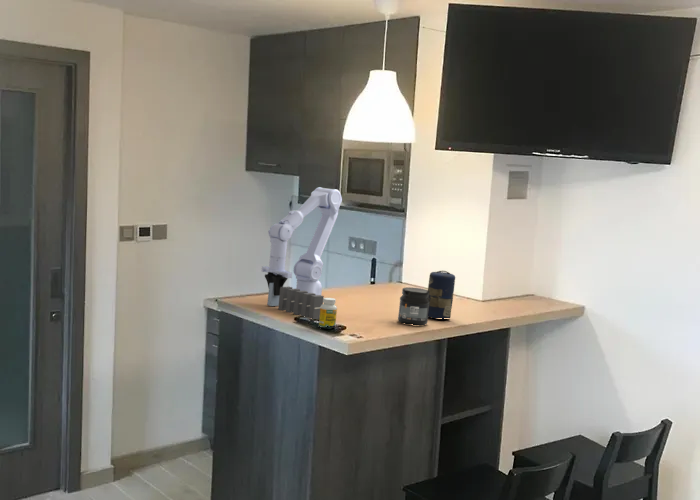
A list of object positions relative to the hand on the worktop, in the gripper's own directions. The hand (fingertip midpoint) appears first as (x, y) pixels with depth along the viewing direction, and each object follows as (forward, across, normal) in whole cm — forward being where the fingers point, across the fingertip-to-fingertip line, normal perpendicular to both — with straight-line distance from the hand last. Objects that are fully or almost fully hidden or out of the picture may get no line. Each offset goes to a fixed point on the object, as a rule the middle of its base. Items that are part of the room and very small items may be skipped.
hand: (274, 294), depth 273 cm
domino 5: (+4, +18, 0) cm, 18 cm away
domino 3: (+4, +10, 0) cm, 11 cm away
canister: (+4, +38, +47) cm, 61 cm away
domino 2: (+4, +6, 0) cm, 7 cm away
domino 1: (+4, 0, 0) cm, 4 cm away
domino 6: (+4, +22, 0) cm, 22 cm away
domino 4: (+4, +14, 0) cm, 15 cm away
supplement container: (+4, +40, +30) cm, 50 cm away
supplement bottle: (+4, +34, -6) cm, 35 cm away
